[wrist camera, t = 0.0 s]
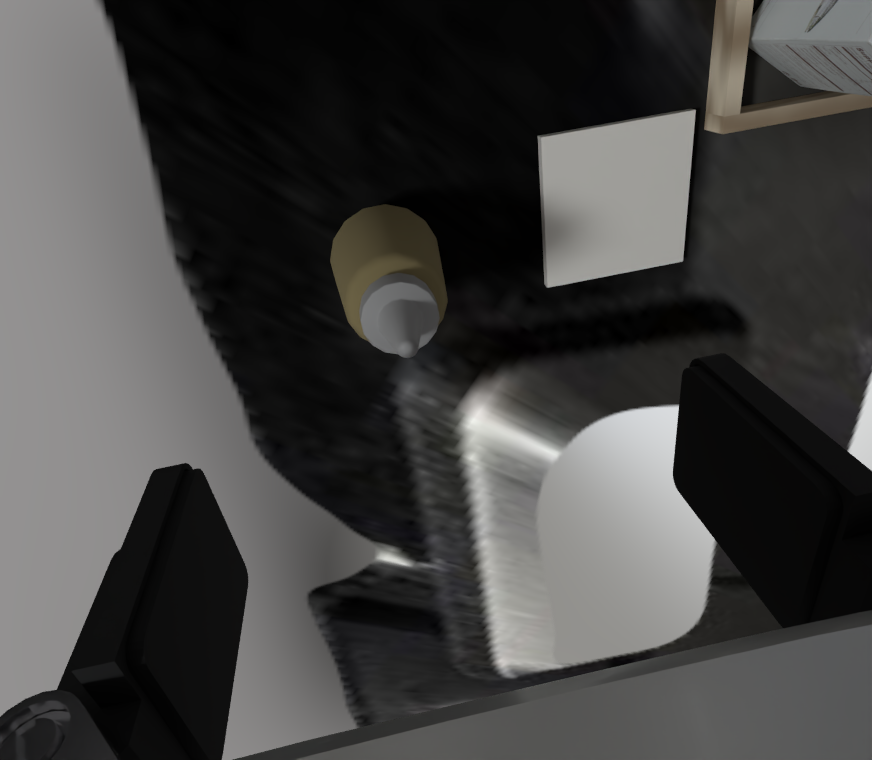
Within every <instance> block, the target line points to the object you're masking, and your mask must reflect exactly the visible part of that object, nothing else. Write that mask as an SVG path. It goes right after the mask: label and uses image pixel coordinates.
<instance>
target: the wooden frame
mask: <svg viewBox="0 0 872 760" xmlns="http://www.w3.org/2000/svg"><path fill="white" fill-rule="evenodd" d="M753 2H754V0H716V9H715V20H714V31H713V41H712V52H711V63H710V73H709V84H708V95H707V106H706V116H705V127H704V130H708V131H712V132H716V133H720V134H726V133H731V132H737V131H742V130H748V129H753V128H759V127H764V126H770V125H775V124H781V123H786V122H792V121H797V120H803V119H808V118H814V117H819V116H825V115H830V114H836V113H841V112H847V111H852V110H858V109H863V108H869V107H872V96H865V95H857V94H849V93H842V92H834V91H825V92H819V93H814V94H808V95H803V96H797V97H791V98H786V99H780V100H775V101H769V102H764V103H758V104H752V105H747V106H741V101H742V93H743V85H744V77H745V68H746V60H747V52H748V44H749V35H750V27H751V19H752V11H753Z"/></svg>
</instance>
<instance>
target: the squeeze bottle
mask: <svg viewBox="0 0 872 760" xmlns="http://www.w3.org/2000/svg"><path fill="white" fill-rule="evenodd" d="M330 262H331V265H332V269H333V273H334V277H335V280H336V284H337V287H338V290H339V293H340V297H341V300H342V303H343V306H344V310H345V313H346V316H347V319H348V322H349V324H350V325H351V326H352V327H353V329H354V330H355V331H356V332H357V333H358V335H359V336H360V337H361V338H363V339H365V340H367V341H369V342H370V343H371V344H372V345H373V346H375V347H377V348H378V349H380V350H382V351H384V352H386V353H394V354H399V355H400V356H402V357H404V358H410V357H413V356H414V355H415V354H416V353H417V352H418V349H419V348H421V347H422V346H424V345H426V344H427V343H428V342H429V341H430V339H431V338H432V337H433V335H434V334H435V333H436V331H437V327H438V325H439V324H440V322H441V321H442V320H443V317H444V313H445V309H446V305H447V301H448V300H447V293H446V287H445V281H444V276H443V271H442V265H441V260H440V254H439V249H438V244H437V238H436V237H435V235H434V234H433V232H432V231H431V229H430V227H429V226H428V224H427V223H426V221H425V220H423V219H422V218H420V217H419V216H418V215H416V214H415V213H413V212H412V211H410V210H409V209H407V208H402V207H397V206H392V205H387V204H384V205H379V206H374V207H369V208H364V209H362V210H361V211H359V212H358V213H356V214H355V215H353V216H352V217H350V218H349V219H348V220H346V221H345V222H344V224H343V225H342V227H341V228H340V230H339V232H338V233H337V235H336V236H335V238H334V240H333V246H332V252H331V259H330Z"/></svg>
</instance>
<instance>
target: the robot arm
mask: <svg viewBox="0 0 872 760" xmlns="http://www.w3.org/2000/svg"><path fill="white" fill-rule="evenodd" d="M673 478H674V483H675V485H676V488H677V490H678V491H679V493H680V494H681V495H682V497H683V498H684V499H685V501H686V502H687V503H688V504H689V506H690V507H691V508H692V510H693V511H694V512H695V514H696V515H697V516H698V518H699V519H700V520H701V522H702V523H703V524H704V525H705V527H706V528H707V529H708V531H709V532H710V533H711V535H712V536H713V537H714V539H715V540H716V541H717V543H718V544H719V545H720V547H721V548H722V549H723V550H724V552H725V553H726V554H727V556H728V557H729V558H730V560H731V561H732V562H733V564H734V565H735V566H736V568H737V569H738V570H739V571H740V573H741V574H742V575H743V577H744V578H745V579H746V581H747V582H748V583H749V585H750V586H751V587H752V589H753V590H754V591H755V592H756V594H757V595H758V596H759V598H760V599H761V600H762V602H763V603H764V604H765V606H766V607H767V608H768V610H769V611H770V612H771V614H772V615H773V616H774V617H775V619H776V620H777V621H778V623H779V624H780V625H781V626H782V627H783V629H779V630H774V631H770V632H765V633H761V634H756V635H752V636H748V637H743V638H739V639H735V640H730V641H726V642H722V643H717V644H713V645H709V646H704V647H700V648H696V649H691V650H687V651H682V652H678V653H674V654H669V655H665V656H661V657H656V658H652V659H648V660H643V661H639V662H635V663H630V664H626V665H622V666H618V667H613V668H609V669H605V670H600V671H596V672H592V673H588V674H583V675H579V676H575V677H571V678H566V679H562V680H558V681H554V682H549V683H545V684H541V685H537V686H532V687H528V688H524V689H520V690H516V691H511V692H507V693H503V694H499V695H494V696H490V697H486V698H482V699H477V700H473V701H469V702H465V703H461V704H456V705H452V706H448V707H444V708H440V709H436V710H431V711H427V712H423V713H419V714H415V715H411V716H407V717H402V718H398V719H394V720H390V721H386V722H382V723H378V724H373V725H369V726H365V727H361V728H357V729H353V730H349V731H345V732H340V733H336V734H332V735H328V736H324V737H320V738H316V739H311V740H307V741H303V742H300V743H295V744H292V745H288V746H284V747H280V748H276V749H272V750H269V751H265V752H261V753H257V754H253V755H249V756H246V757H242V758H238V759H234V760H872V471H871V470H870V469H868V468H867V467H866V466H865V465H863V464H862V463H861V462H860V461H859V460H857V459H856V458H855V457H854V456H852V455H851V454H850V453H849V452H847V451H846V450H845V449H844V448H842V447H841V446H840V445H839V444H837V443H836V442H835V441H834V440H833V439H831V438H830V437H829V436H828V435H826V434H825V433H824V432H823V431H821V430H820V429H819V428H818V427H816V426H815V425H814V424H813V423H811V422H810V421H809V420H808V419H807V418H805V417H804V416H803V415H802V414H800V413H799V412H798V411H797V410H795V409H794V408H793V407H792V406H790V405H789V404H788V403H787V402H785V401H784V400H783V399H782V398H780V397H779V396H778V395H777V394H776V393H774V392H773V391H772V390H771V389H769V388H768V387H767V386H766V385H764V384H763V383H762V382H761V381H759V380H758V379H757V378H756V377H754V376H753V375H752V374H751V373H750V372H748V371H747V370H746V369H745V368H743V367H742V366H741V365H740V364H738V363H737V362H736V361H735V360H733V359H732V358H731V357H730V356H728V355H726V354H716V355H711V356H706V357H701V358H697V359H694V360H692V362H691V363H690V367H689V368H686V369H684V371H683V374H682V382H681V392H680V403H679V413H678V424H677V435H676V445H675V456H674V466H673ZM247 589H248V573H247V569H246V566H245V563H244V561H243V559H242V557H241V554H240V552H239V550H238V548H237V546H236V544H235V541H234V539H233V537H232V535H231V532H230V530H229V528H228V526H227V524H226V521H225V519H224V517H223V515H222V512H221V510H220V508H219V506H218V504H217V501H216V499H215V497H214V495H213V493H212V490H211V488H210V486H209V484H208V482H207V479H206V477H205V475H204V473H203V471H202V470H201V469H194V470H193V469H192V467H191V466H190V465H189V464H187V463H184V464H179V465H174V466H170V467H165V468H160V469H156V470H154V471H153V473H152V474H151V476H150V479H149V481H148V484H147V486H146V489H145V491H144V494H143V496H142V498H141V501H140V503H139V506H138V508H137V511H136V513H135V516H134V518H133V521H132V523H131V526H130V528H129V530H128V533H127V535H126V538H125V540H124V543H123V545H122V547H121V549H120V550H119V551H118V552H116V553H115V554H114V556H113V558H112V560H111V562H110V564H109V566H108V569H107V571H106V573H105V576H104V578H103V581H102V583H101V585H100V588H99V590H98V592H97V595H96V598H95V600H94V602H93V604H92V607H91V609H90V612H89V614H88V617H87V619H86V621H85V624H84V626H83V628H82V631H81V633H80V636H79V638H78V640H77V643H76V645H75V647H74V650H73V652H72V655H71V657H70V659H69V662H68V664H67V667H66V669H65V671H64V674H63V676H62V679H61V681H60V683H59V686H58V688H57V690H53V691H46V692H42V693H39V694H37V695H35V696H32V697H29V698H27V699H25V700H23V701H22V702H20V703H18V704H17V705H15V706H14V707H12V708H11V709H9V710H7V711H6V712H5V713H4V714H3V715H2V716H1V717H0V760H222V755H223V749H224V742H225V735H226V729H227V722H228V716H229V708H230V702H231V695H232V689H233V682H234V676H235V669H236V662H237V656H238V649H239V642H240V635H241V629H242V622H243V616H244V609H245V601H246V596H247Z"/></svg>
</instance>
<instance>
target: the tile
mask: <svg viewBox="0 0 872 760" xmlns="http://www.w3.org/2000/svg"><path fill="white" fill-rule="evenodd" d="M695 114H696V110H694V109H686V110H680V111H674V112H669V113H663V114H658V115H652V116H646V117H641V118H635V119H630V120H624V121H618V122H613V123H607V124H602V125H596V126H590V127H585V128H579V129H574V130H568V131H562V132H557V133H551V134H546V135H540V136H538V151H539V173H540V195H541V217H542V239H543V261H544V283H545V285H546V287H547V288H549V287H554V286H559V285H564V284H569V283H574V282H579V281H585V280H590V279H595V278H600V277H605V276H610V275H615V274H621V273H626V272H631V271H636V270H641V269H646V268H651V267H657V266H662V265H667V264H672V263H677V262H682V261H683V255H684V243H685V232H686V220H687V208H688V196H689V184H690V173H691V161H692V149H693V137H694V125H695Z"/></svg>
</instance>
